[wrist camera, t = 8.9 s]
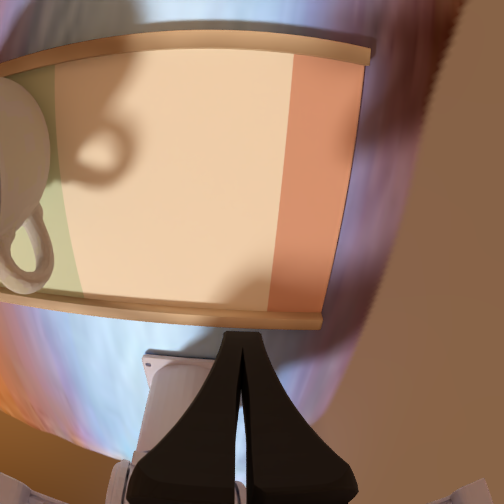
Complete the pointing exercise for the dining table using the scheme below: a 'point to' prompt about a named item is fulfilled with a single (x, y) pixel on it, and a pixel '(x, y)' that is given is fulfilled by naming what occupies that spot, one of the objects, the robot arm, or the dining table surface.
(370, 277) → the dining table surface
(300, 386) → the dining table surface
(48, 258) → the teacup
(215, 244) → the beige flat rectangular board
